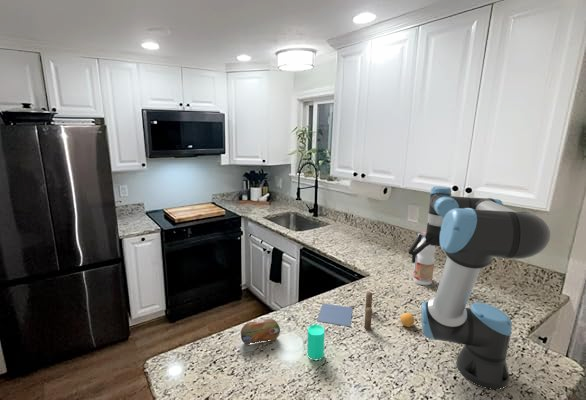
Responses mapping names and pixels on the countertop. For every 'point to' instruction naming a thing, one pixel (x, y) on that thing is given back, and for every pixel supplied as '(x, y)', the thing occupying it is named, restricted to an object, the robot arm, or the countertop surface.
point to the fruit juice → (425, 264)
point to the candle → (315, 341)
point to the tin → (260, 331)
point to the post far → (368, 300)
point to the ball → (407, 319)
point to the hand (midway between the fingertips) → (431, 271)
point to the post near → (368, 318)
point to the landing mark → (335, 314)
